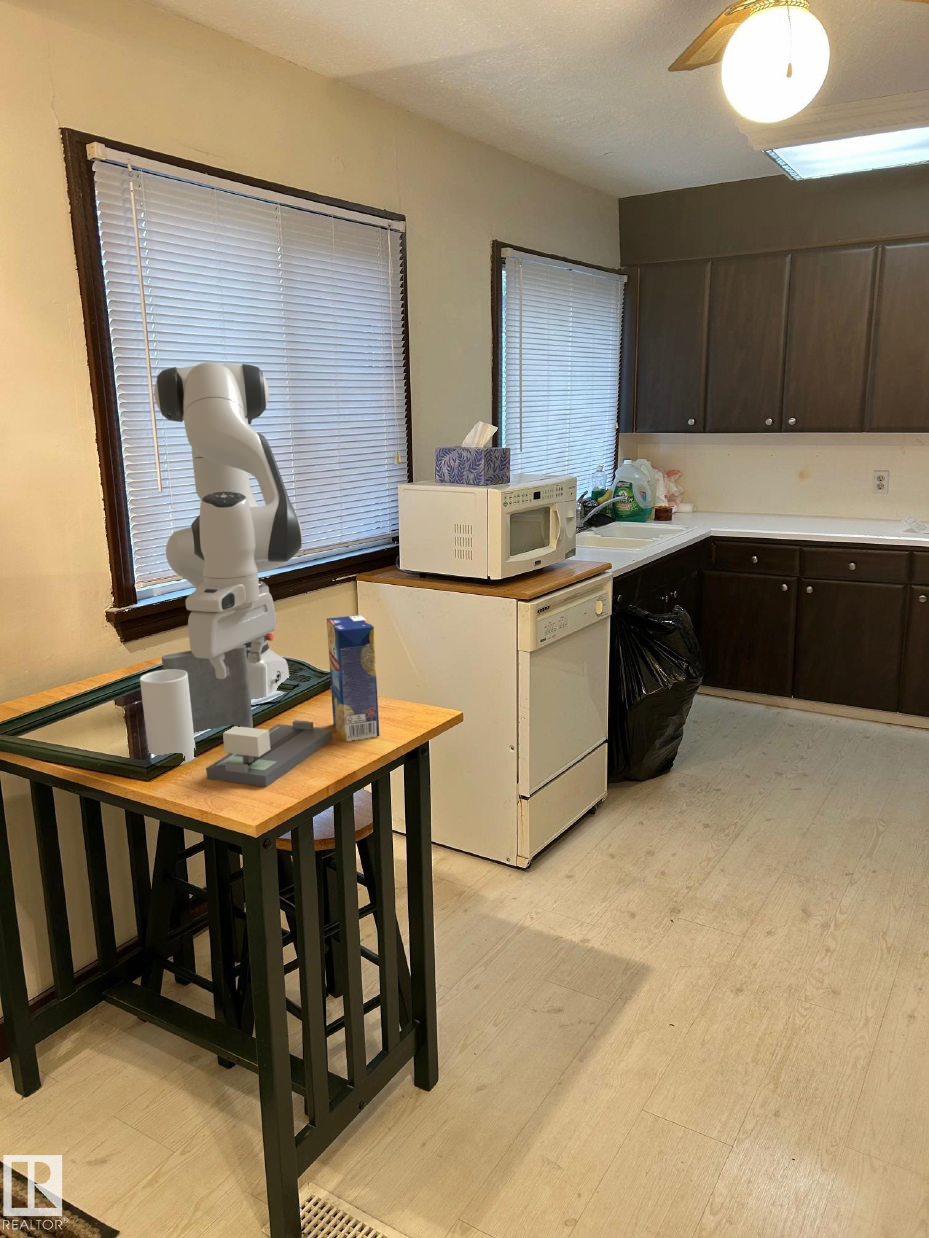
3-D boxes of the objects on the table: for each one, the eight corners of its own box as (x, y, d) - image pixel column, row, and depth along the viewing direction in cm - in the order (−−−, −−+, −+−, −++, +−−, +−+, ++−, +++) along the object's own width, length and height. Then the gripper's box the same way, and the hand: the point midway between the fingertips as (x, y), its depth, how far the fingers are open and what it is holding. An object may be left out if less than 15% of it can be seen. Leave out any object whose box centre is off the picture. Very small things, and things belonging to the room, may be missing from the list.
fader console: (278, 733, 176) (277, 718, 176) (332, 739, 172) (331, 724, 171) (207, 778, 156) (205, 761, 155) (266, 786, 151) (264, 769, 151)
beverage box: (366, 719, 183) (360, 614, 178) (379, 736, 173) (373, 626, 168) (333, 723, 181) (326, 618, 176) (344, 742, 171) (337, 630, 166)
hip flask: (173, 747, 171) (161, 646, 166) (169, 741, 174) (157, 642, 170) (255, 731, 178) (246, 634, 173) (249, 725, 181) (241, 630, 177)
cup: (179, 746, 171) (170, 666, 167) (205, 756, 166) (196, 673, 162) (140, 760, 165) (130, 677, 161) (165, 770, 160) (156, 685, 156)
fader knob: (237, 755, 159) (234, 726, 158) (271, 759, 157) (268, 729, 156) (225, 762, 156) (222, 732, 155) (259, 767, 154) (257, 737, 152)
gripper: (251, 578, 160) (257, 652, 163) (178, 602, 142) (186, 685, 145) (281, 579, 158) (287, 654, 161) (211, 604, 139) (219, 688, 143)
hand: (239, 669), depth 153 cm, fingers open, 8 cm apart
